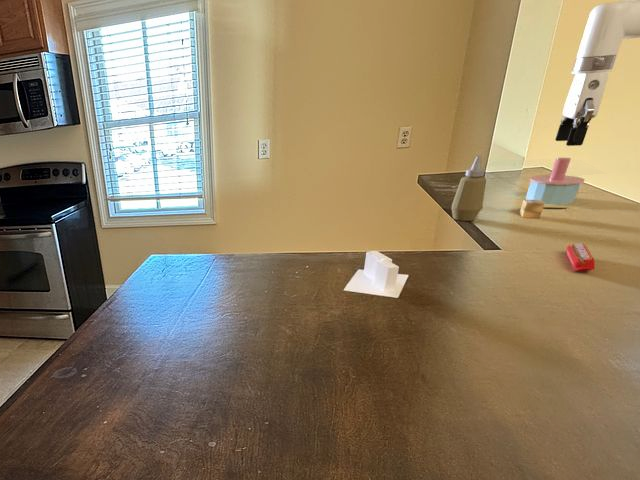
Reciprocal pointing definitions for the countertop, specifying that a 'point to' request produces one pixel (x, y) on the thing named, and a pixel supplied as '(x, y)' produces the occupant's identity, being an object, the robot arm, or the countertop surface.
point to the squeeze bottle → (470, 193)
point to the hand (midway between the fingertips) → (567, 143)
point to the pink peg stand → (558, 175)
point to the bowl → (553, 193)
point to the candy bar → (580, 257)
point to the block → (531, 208)
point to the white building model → (377, 277)
